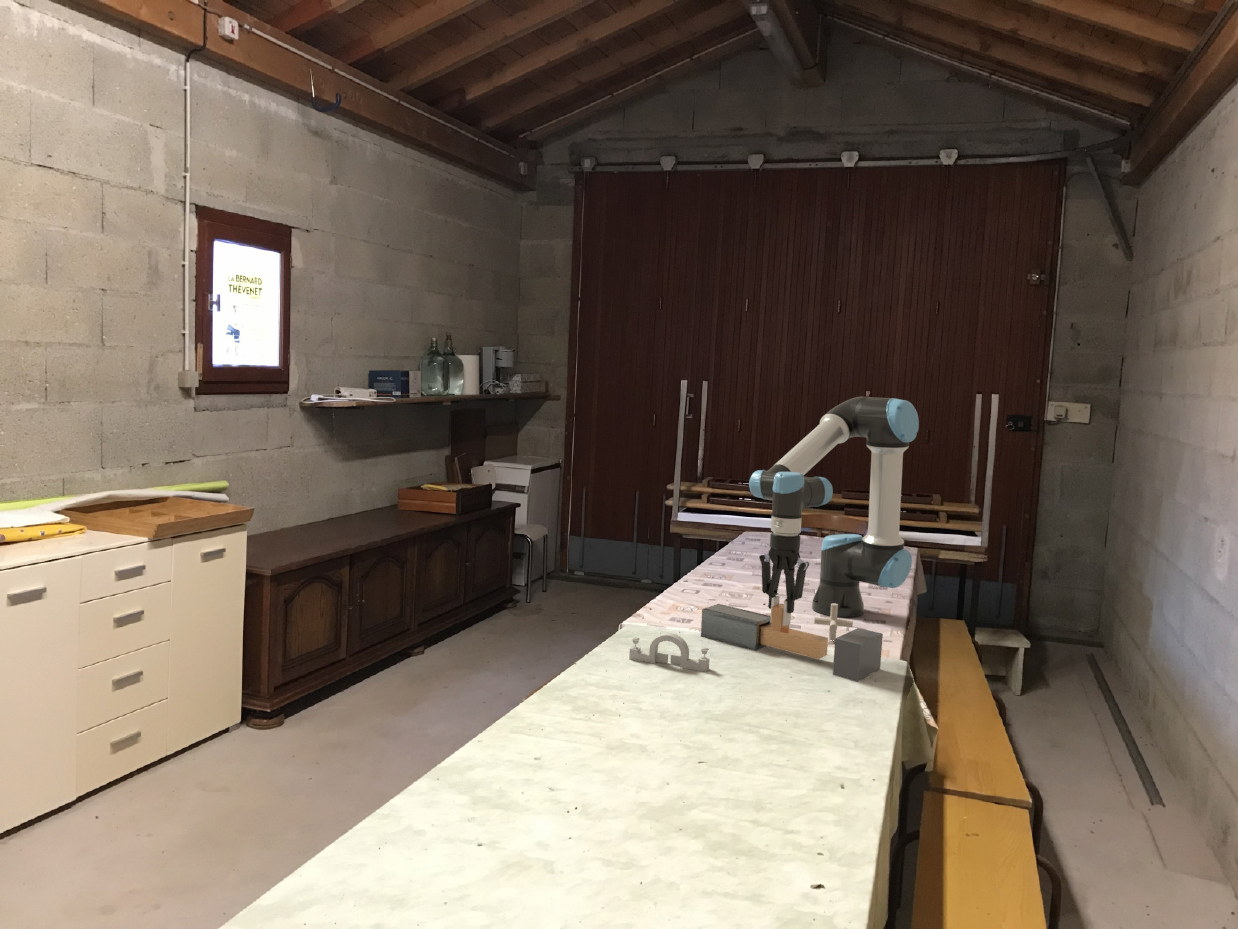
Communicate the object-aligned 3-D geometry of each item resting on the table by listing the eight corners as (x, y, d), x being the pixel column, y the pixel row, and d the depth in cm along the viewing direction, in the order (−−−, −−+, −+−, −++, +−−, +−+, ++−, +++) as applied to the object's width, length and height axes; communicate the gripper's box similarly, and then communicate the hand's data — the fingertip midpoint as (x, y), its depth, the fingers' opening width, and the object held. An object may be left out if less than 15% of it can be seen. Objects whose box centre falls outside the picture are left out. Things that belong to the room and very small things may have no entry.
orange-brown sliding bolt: (726, 629, 258) (728, 591, 257) (827, 655, 239) (829, 614, 238) (717, 632, 254) (719, 594, 253) (818, 659, 236) (821, 617, 234)
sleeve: (717, 630, 262) (718, 603, 261) (771, 644, 251) (772, 616, 250) (700, 636, 256) (702, 609, 255) (755, 650, 245) (756, 622, 244)
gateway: (708, 670, 230) (710, 638, 229) (706, 673, 228) (707, 641, 227) (632, 658, 237) (633, 627, 236) (629, 661, 235) (630, 629, 234)
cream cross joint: (851, 648, 251) (854, 610, 249) (813, 644, 253) (815, 607, 251) (850, 637, 260) (853, 601, 259) (813, 633, 262) (815, 598, 261)
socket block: (855, 663, 238) (858, 628, 237) (880, 669, 234) (882, 633, 233) (832, 674, 229) (835, 638, 228) (857, 681, 225) (860, 644, 224)
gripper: (750, 530, 244) (745, 619, 247) (806, 539, 234) (800, 633, 237) (766, 526, 249) (761, 614, 252) (820, 536, 239) (815, 626, 242)
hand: (780, 623), depth 244 cm, fingers closed on orange-brown sliding bolt, 3 cm apart
